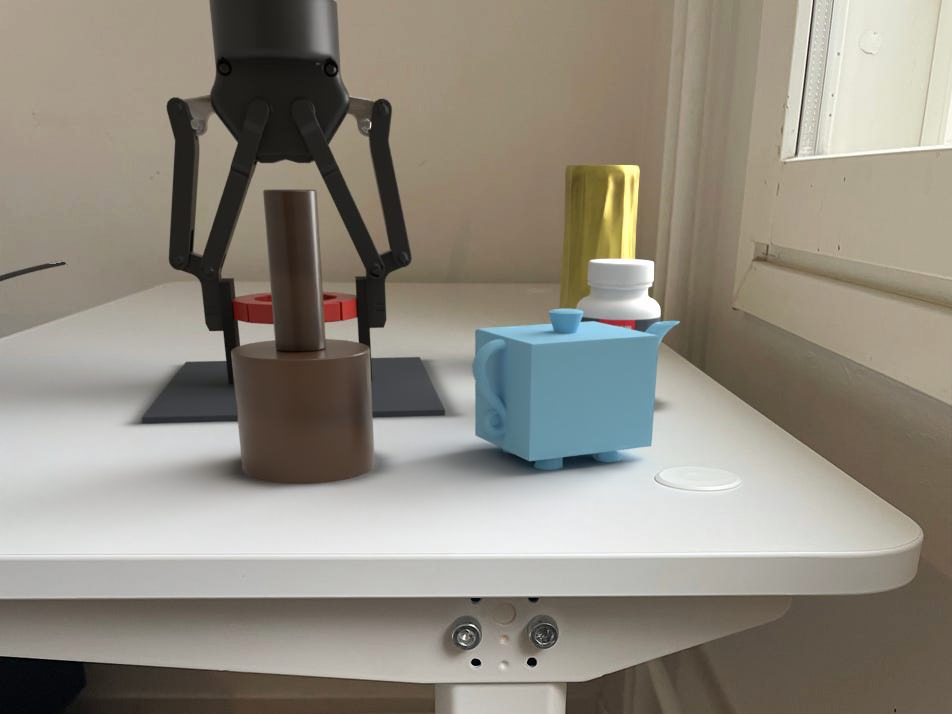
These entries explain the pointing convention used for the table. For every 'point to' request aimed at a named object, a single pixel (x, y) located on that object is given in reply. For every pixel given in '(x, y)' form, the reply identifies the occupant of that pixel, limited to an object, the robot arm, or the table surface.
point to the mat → (213, 399)
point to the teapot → (566, 388)
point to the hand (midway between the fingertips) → (301, 378)
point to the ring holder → (301, 367)
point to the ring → (261, 311)
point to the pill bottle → (620, 294)
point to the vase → (596, 223)
